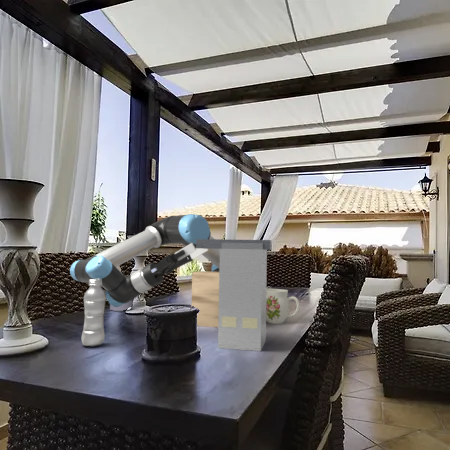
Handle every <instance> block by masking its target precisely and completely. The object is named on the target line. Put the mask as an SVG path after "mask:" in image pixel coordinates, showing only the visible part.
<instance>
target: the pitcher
mask: <svg viewBox="0 0 450 450" xmlns="http://www.w3.org/2000/svg"><path fill="white" fill-rule="evenodd" d="M288 294H289V290H288V289H283V288H282V289H280V288H271V287H269V288H268V287H266V323H268V324H273V325H274V324H275V325H281V324H284V322H285V320H286V319H290V318H293V317H295V316H297V314H298V313H299V311H300V301H299V299H298V298H297V297H296V296H288ZM291 300H294V301H295V302H296V309H295V311H294V312H293V313H292V312H291V313H290V314H289V311H290V304H289V302H290V301H291Z"/></svg>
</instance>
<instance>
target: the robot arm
mask: <svg viewBox="0 0 450 450" xmlns="http://www.w3.org/2000/svg"><path fill="white" fill-rule="evenodd" d="M209 225H210V224H209V222H208V221H207V219H206V218H205V217H204V216H203V215H199V214H194V213H189V214H179V215H169V216H167V217H165V218H162V219H160V220H158V221H155V222H154V223H152V224H149V225H148V226H146V227H145V229H144V230H143V231H142V232H139V233H137V234H134V235H133V236H131V237H129V238H127V239H125V240H123V241H121V242H119V243H117V244H115V245H113V246H110V247H109V248H106V249H104V250H102V251H101V252H99V253H97V254H94V255H93V256H90V257H88V258H85V259H78V260H76V261H74V262H73V263H72V264H71V265H70V268H69V274H70V276H71V278H72V279H73V280H74V281H77V282H81V283H88V284H89V279H102V285H101V288H102V289H103V288H104V289H103V290H105V291H104V292H105V293H106V301H108V303H109V305H110V304H111V305H112V306H114V307H119V306H121V305H123V304H126V303H128V302H129V301H131V300H132V301H133V300H134V299H135V298H137V297H139V296H140V295H142V294H143V293H145V294H148V291H149V290H151V289H153V287H156V286H158V285H160V284H162V283H163V282H164V275H168V274H170V273H172V272H173V271H174V270H176V269H178V268H180V267H182V266H184V265H187V264H188V263H190V262H193V261H194V259H196V258H198V257H199V256H201V255H202V256H203V257H204V258H205V259H207V260H208V261H209V262H210V263H211V264H212V265H211V271H210V272H219V267H220V249H203V248H196V239H215V238H214V237H213V235H212V234H211V227H210V226H209ZM170 244H171V245H173V244H175V245H176V244H177V245H179V244H180V245H183V246H184V247H182V248H180V249H179V250H177V251H175V252H174V253H171V254H168V255H167V256H165V257H164V258H162V259H161V260H159V262H157V263H155V262H151V263H148V264H146V266H143V267H142V268H140V269H138V270H136V271H134V272H133V273H131V274H130V275H128V276H126V275H125V274H124V273H123V272H122V271H120V270H119V269H118V268H117V267H119V266H121V265H122V264H125V263H126V262H129V261H131V260H132V259H134V258H136V257H138V256H139V255H141V254H143V253H146V252H147V251H149V250H151V249H153V248H155V249H158V248H160V247H161V246H164V245H165V246H166V245H170Z"/></svg>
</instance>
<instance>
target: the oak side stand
mask: <svg viewBox="0 0 450 450" xmlns="http://www.w3.org/2000/svg"><path fill="white" fill-rule="evenodd" d="M192 306H194V307H196V308H198V309H199V310H200V312H199V313H198V315H197V325H198V326H197V327H210V328H211V327H212V328H218V322H219V272H211V271H206V270H205V271H203V270H197V271H193V272H192V273H191V307H192Z"/></svg>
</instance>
